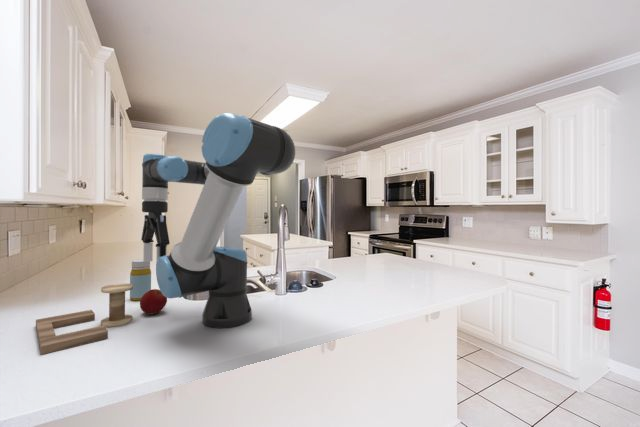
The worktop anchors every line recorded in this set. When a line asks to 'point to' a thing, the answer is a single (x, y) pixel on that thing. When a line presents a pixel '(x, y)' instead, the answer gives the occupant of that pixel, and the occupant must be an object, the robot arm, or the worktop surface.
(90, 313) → the notched board
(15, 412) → the worktop surface
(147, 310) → the apple
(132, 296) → the bottle
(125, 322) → the bobbin
